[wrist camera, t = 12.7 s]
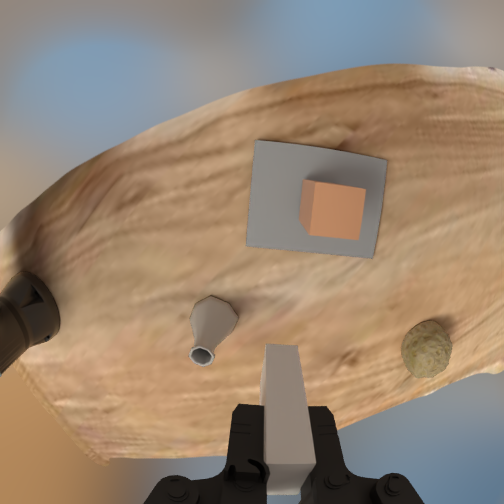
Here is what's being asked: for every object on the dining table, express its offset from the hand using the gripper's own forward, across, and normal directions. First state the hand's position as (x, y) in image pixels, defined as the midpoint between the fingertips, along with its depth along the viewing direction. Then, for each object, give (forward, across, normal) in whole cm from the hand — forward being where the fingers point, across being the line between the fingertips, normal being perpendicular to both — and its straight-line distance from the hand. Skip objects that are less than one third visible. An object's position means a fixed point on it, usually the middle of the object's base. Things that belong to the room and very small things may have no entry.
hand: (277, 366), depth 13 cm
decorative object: (+27, +30, -16) cm, 43 cm away
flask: (+27, -7, -13) cm, 30 cm away
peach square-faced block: (+24, +6, +6) cm, 26 cm away
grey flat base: (+26, +6, +6) cm, 28 cm away
